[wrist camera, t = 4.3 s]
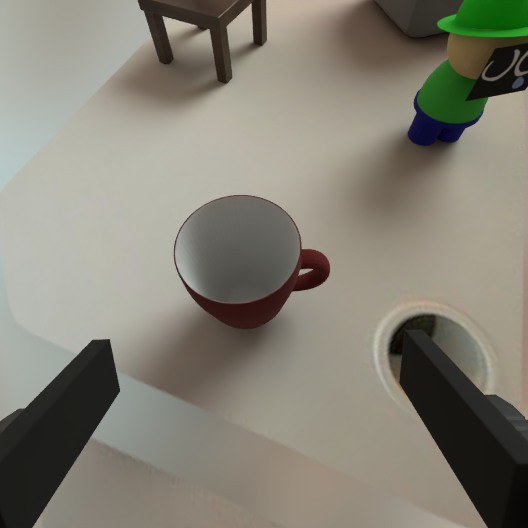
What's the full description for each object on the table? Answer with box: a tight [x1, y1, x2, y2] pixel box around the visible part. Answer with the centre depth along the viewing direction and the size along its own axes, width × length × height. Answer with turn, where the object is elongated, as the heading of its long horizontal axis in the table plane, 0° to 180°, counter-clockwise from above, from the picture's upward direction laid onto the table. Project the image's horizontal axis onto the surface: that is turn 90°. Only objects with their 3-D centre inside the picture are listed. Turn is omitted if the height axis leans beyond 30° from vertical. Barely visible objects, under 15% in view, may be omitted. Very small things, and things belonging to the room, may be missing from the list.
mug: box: [174, 195, 330, 329], centre depth 25 cm, size 11×8×10 cm
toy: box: [408, 0, 528, 146], centre depth 32 cm, size 9×9×15 cm
